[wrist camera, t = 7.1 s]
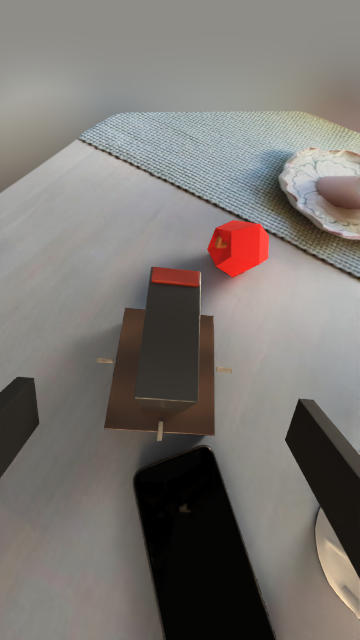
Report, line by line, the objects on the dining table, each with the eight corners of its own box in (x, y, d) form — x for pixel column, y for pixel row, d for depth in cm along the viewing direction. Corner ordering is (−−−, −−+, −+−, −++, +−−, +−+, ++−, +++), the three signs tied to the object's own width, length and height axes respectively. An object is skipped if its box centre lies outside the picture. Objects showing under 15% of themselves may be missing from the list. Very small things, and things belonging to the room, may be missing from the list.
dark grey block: (180, 413, 20) (199, 402, 12) (142, 411, 20) (133, 397, 11) (185, 326, 23) (201, 269, 15) (152, 323, 23) (151, 263, 15)
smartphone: (130, 471, 20) (185, 741, 15) (129, 472, 20) (186, 759, 14) (209, 441, 22) (287, 675, 16) (211, 441, 21) (293, 686, 15)
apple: (273, 206, 28) (223, 194, 24) (292, 257, 27) (243, 253, 23) (234, 240, 34) (189, 235, 30) (248, 283, 33) (203, 284, 28)
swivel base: (224, 443, 22) (234, 445, 19) (91, 435, 21) (81, 435, 18) (221, 323, 27) (229, 311, 24) (114, 314, 26) (109, 300, 24)
